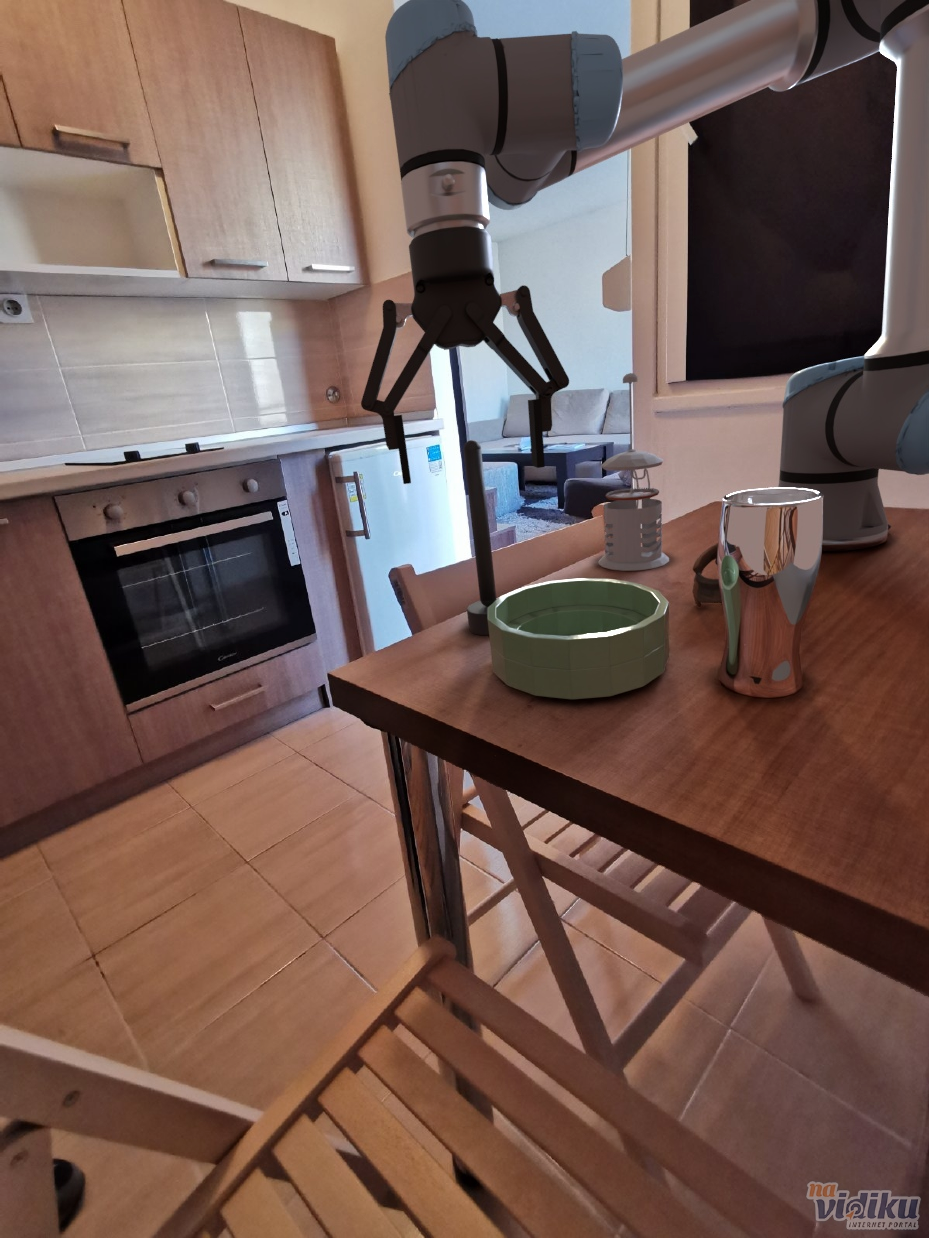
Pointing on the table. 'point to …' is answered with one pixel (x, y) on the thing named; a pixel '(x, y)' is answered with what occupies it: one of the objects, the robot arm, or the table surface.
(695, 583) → the brown curved piece
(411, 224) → the robot arm
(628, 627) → the bowl
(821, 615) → the table surface
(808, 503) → the beer glass
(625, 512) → the french press
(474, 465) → the rod on round base
